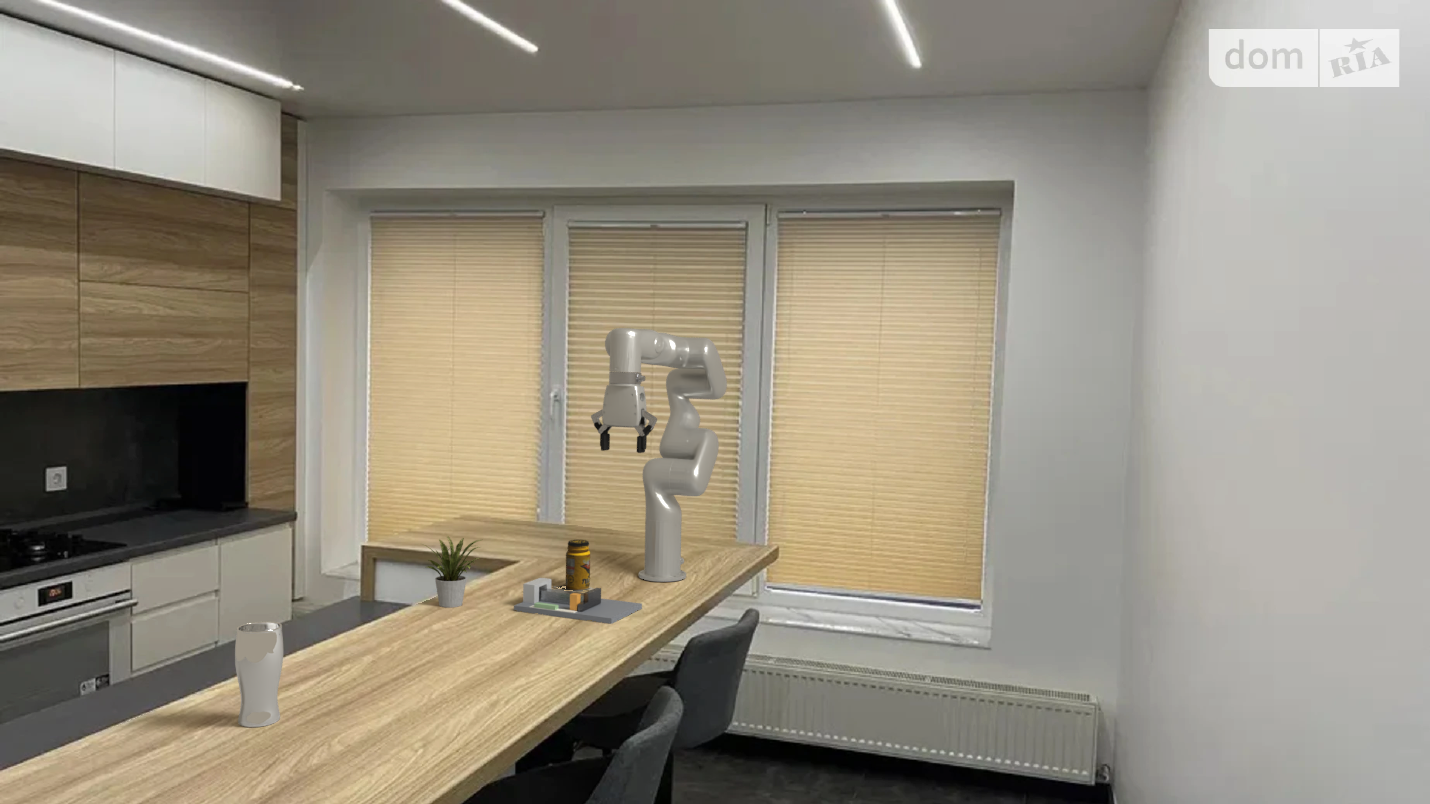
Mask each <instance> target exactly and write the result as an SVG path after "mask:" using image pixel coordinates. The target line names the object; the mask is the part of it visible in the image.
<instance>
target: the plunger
mask: <svg viewBox="0 0 1430 804" xmlns="http://www.w3.org/2000/svg"><path fill="white" fill-rule="evenodd" d="M572 593H578V594H581V600H580V603H579V604H578V611H581V612H583V611H585V610H587V609H589V608H592V607H594V606H596V605H598V604H601V599H602V587H595V588H594V589H592V590H589V591H584V592H581V591H578V592H577V591H576V592H572V591H564V590H557V589H556V588H551V589H547V588H539V601H547V602H555V603H562V604H570V594H572Z"/></svg>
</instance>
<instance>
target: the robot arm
mask: <svg viewBox="0 0 1430 804" xmlns="http://www.w3.org/2000/svg"><path fill="white" fill-rule="evenodd" d="M604 347H605V351H606V354H607V355H608V356H609V373H608V385H606V388H605V391H604V395H603V402H602V408H601V410H597V411H596V412H594V413H592V414H591V415H590V418H591V420H592V423H593V426H594V428H595V429H596V430H597V432H598V433H597V434H599V446H600V451H604V452H605V451H609V450H610V448H611V447H610V446H611V445H610V441H611V435H610V433H609V432H610V430H611V429H612V428H630V429H631V428H634V429H635V431H636V433H638V435H637V436H636V453H638V454H641V453H642V454H643V453H646V449H647V437H648V436H649V435H650V433H651V432H652V431H653V430H654V428H655V425H656V424H657V421H658V417H656V416H654V415H653V414H652V413H650V412H648V411H647V410H648V409H647V399H646V393H645V392H646V391H645V386H643V385H642V386H641V384H642V382H645V381H646V376H645V375H642V364H644V365H649V366H650V365H651V366H659V367H661V366H662V367H668V368H671V369H672V368H673V369H672V370H671V371H669V372H668V374H667V375H666V381H665V386H666V387H665V388H666V395H667V400H668V405H669V411H670V412H669V413H670V414H669V417H668V421H667V423H666V426H665V428H664V431H663V434H662V437H661V438H660V442H659V447H658V450H659V454H660V456H661V457H657V458H656V457H655V458H652V459H649V460H648V461H647V462H646V463H645V464H644V465H643V469H642V483H643V489H644V497H645V521H644V522H645V525H644V569H642V570H640V571H639V572H638V578H639V579H641V580H643V579H644V581H650V582H655V583H657V582H658V583H663V582H664V583H665V582H666V583H667V582H679V581H682V579H683V580H684V579H686V578H687V572H686V571H685V570H681V566H682V565H683V564H684V563H685V559H684V557H683V556H682V519H683V518H682V516H683V514H682V508H681V505H680V503H679V501H678V500H677V498H676V497H675V496H684V497H699V496H702V495H703V494H704V493H705V492H706V490H707V488H708V485H709V483H710V480H711V477H712V474H713V470H714V467H715V465H716V463H717V462H716V461H717V458H718V456H719V455H718V454H719V445H720V443H719V438H718V436H717V434H716V432H715V431H713V430H712V429H710V428H704V427H699V426H700V424H701V417H700V414H699V412H698V410H697V409H696V407H695V406H694V405H693V403H692V402H691V400H692V399H693V400H694V399H695V400H719V399H721V398H723V397H724V395H725V394H726V392H727V388H728V380H727V376H726V372H725V369H724V366H723V364H722V360H721V356H720V354H719V351H718V349H717V346H716V345H715V343H714V342H713V341H712V340H711V339H710V338H708V337H686V336H678V335H674V334H671V333H670V334H669V333H667V332H658V331H657V330H654V329H650V328H649V329H647V328H630V327H616V328H614V329H611V331H609V332H608V333H607V335H606V338H605V340H604ZM690 399H691V400H690ZM601 417H602V418H601ZM600 418H601V419H602V422H601V421H600ZM647 420H648V421H647ZM647 422H648V423H647Z"/></svg>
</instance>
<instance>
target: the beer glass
mask: <svg viewBox="0 0 1430 804" xmlns="http://www.w3.org/2000/svg"><path fill="white" fill-rule="evenodd" d="M283 638H284V637H283V624H282V623H280V622H277V621H269V620H267V621H254V622H248V623H244V624H240V625H239V626H237V627H236V634H235V645H234V646H235V647H234V665H235V672H236V678H237V682H238V687H239V693H240V708H239V713H238V719H237V723H238V725H239V726H242V727H244V728H259V727H260V728H261V727H266V726H267V727H268V726H270V725H273V724H275V723H277V722H279V721H280V719H281V714H280V709H279V703H278V696H279V695H278V694H279V693H278V692H279V686H280V680H281V674H282V669H283V663H284V662H283V661H284V639H283Z"/></svg>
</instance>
